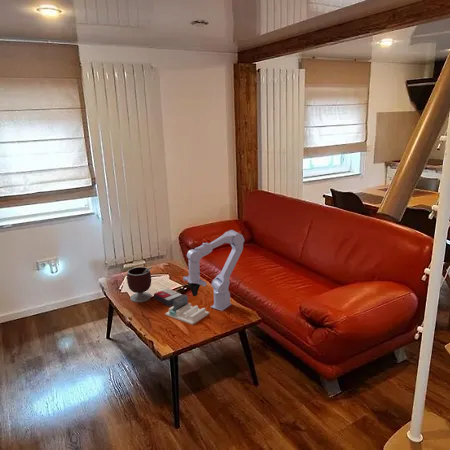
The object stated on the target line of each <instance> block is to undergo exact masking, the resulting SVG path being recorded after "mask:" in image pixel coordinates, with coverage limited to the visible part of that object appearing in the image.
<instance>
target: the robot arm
mask: <svg viewBox="0 0 450 450" xmlns="http://www.w3.org/2000/svg"><path fill="white" fill-rule="evenodd" d="M244 243H245V238H244V235H243V234H242V233H239V232H237V231H235V230H234V229H230V230H228V231H225V232H224V233H223V234H222V235H221V236H219V237H217V238H216V239H214V240H213V241H210V243H209V242H202V244H201V245H200V246H197V247H194V249H193V248H191V249H189V250H188V251H187V254H186V257H187V259H188V260H187V261H188V275H187V276H185V275H184V276H183V277H182V279H183V280H182V281H183V282H185V281H186V282H187V284H188V285H187V286H188V287H189V289H190V292H191V295H192V296H193V297H197V296H198V292H199V289H200V286H202V287H206V286H207V281H204V280H203V279H201V276H200V275H201V273H200V271H201V270H200V267H201V266H200V261H201V260H202V258H203V257H205V256H207V255H209V254H211V253H212V252H213V249H215V248H217V247H220V246H222V245H224V244H229V245H230V246H231V251H230V253H229V255H228V256H227V259H226V261H225V263H224V265H223V268H222V270H221V272H220V273H219V274H216V276H215V278H214V279H212V281H211V287H212V289H213V304H212V305H210V308H212V309H215V310H218V311H221V312H223V311H224V310H226V309H227V308H229V307H230V306H232V303H231V293H230V291H229V287H230V284H231V282H230V277H231V275H232V274H233V271H234V269H235V267H236V265H237V263H238V261H239V259H240V257H241V254H242V252H243V249H244Z"/></svg>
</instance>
